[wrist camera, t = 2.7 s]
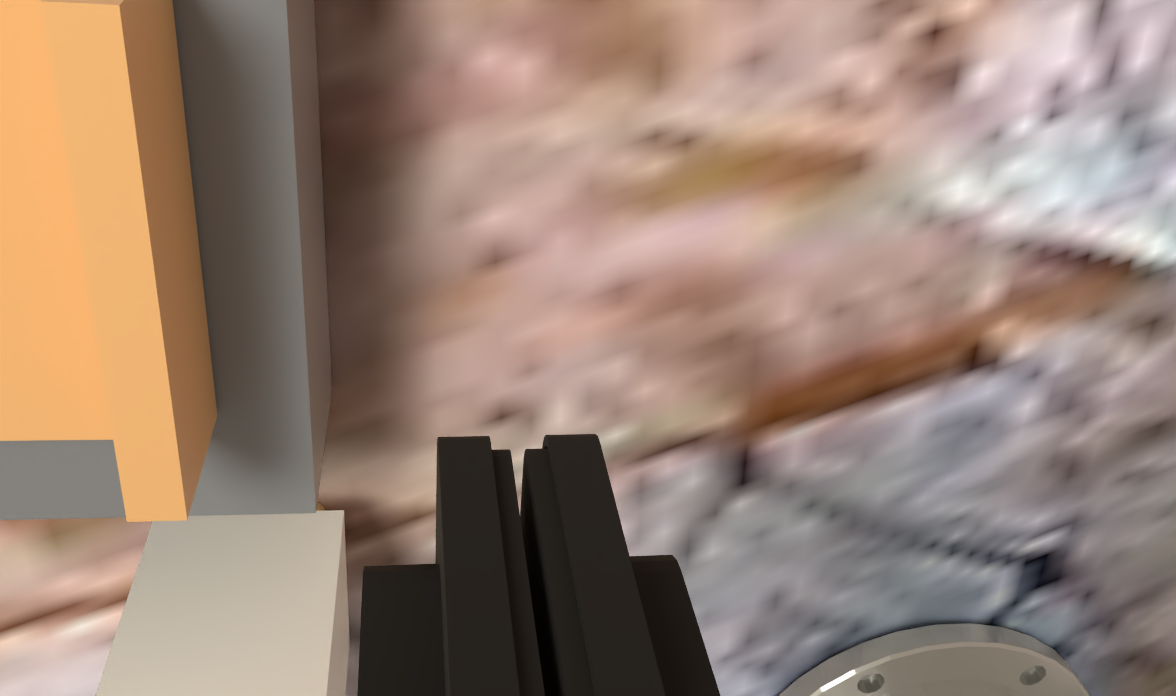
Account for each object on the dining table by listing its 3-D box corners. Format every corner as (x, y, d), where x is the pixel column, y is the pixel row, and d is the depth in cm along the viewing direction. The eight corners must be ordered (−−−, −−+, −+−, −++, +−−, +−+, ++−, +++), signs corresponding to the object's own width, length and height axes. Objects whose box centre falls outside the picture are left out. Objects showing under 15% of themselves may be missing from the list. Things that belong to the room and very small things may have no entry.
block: (347, 475, 29) (319, 770, 21) (352, 603, 31) (329, 915, 23) (167, 477, 28) (66, 784, 20) (185, 609, 31) (100, 933, 23)
